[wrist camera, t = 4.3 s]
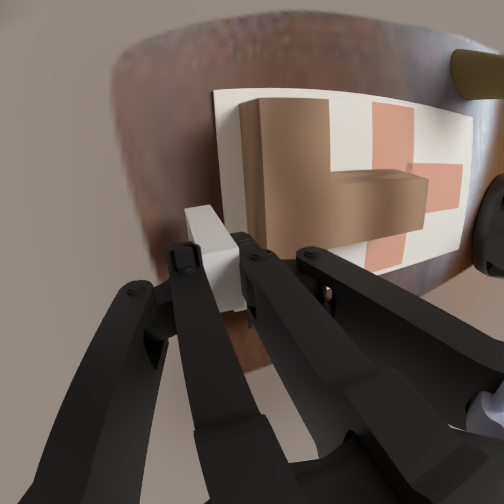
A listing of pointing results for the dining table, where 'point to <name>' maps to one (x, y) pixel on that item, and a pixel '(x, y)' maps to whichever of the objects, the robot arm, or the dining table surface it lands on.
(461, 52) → the olive pepper mill
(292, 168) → the t block
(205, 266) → the robot arm
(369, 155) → the mat
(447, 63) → the dining table surface
